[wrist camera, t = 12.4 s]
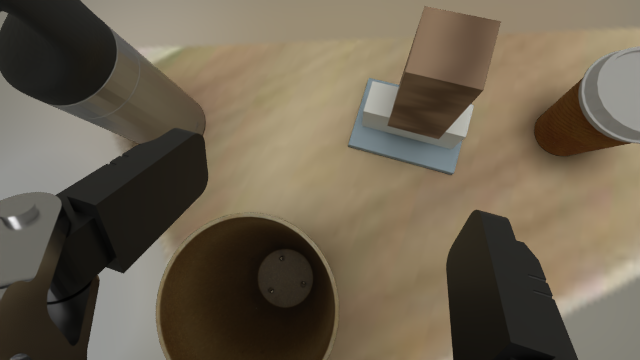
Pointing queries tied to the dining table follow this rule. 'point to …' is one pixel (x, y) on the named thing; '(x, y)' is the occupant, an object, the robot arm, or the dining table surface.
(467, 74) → the post
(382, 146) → the butter dish
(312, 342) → the plant pot
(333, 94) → the dining table surface
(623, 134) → the disposable coffee cup
